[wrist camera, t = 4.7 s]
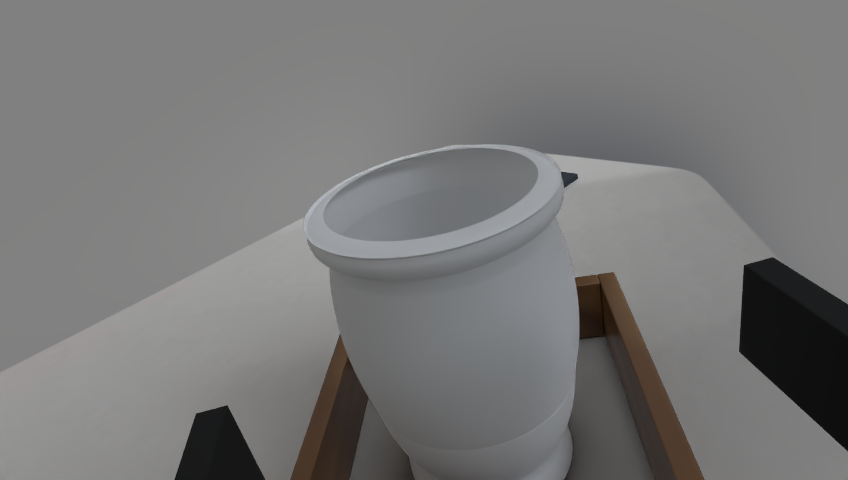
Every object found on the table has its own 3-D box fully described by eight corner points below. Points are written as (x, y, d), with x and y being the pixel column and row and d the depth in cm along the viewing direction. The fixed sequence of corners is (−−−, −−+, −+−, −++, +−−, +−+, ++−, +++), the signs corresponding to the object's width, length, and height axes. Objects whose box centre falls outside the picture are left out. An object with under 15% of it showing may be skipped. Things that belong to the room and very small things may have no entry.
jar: (355, 456, 30) (259, 214, 23) (488, 356, 35) (441, 131, 28) (491, 599, 22) (403, 290, 15) (639, 442, 27) (622, 156, 20)
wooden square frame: (617, 324, 35) (613, 271, 33) (739, 636, 19) (743, 567, 17) (364, 356, 38) (348, 309, 36) (286, 650, 22) (250, 592, 20)
